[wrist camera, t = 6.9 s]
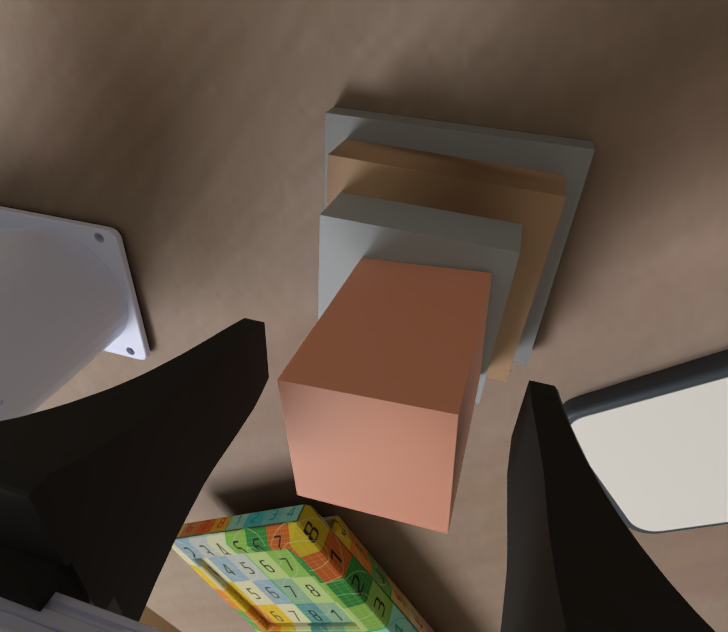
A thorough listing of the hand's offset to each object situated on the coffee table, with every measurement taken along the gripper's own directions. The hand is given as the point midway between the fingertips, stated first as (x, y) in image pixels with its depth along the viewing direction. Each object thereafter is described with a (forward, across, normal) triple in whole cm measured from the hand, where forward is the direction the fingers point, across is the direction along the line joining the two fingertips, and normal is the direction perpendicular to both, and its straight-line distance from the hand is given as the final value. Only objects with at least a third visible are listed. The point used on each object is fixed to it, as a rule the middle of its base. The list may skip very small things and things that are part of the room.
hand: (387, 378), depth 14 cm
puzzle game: (+9, +4, +28) cm, 29 cm away
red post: (+3, 0, 0) cm, 3 cm away
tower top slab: (+6, 0, 0) cm, 6 cm away
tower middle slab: (+8, 0, 0) cm, 8 cm away
